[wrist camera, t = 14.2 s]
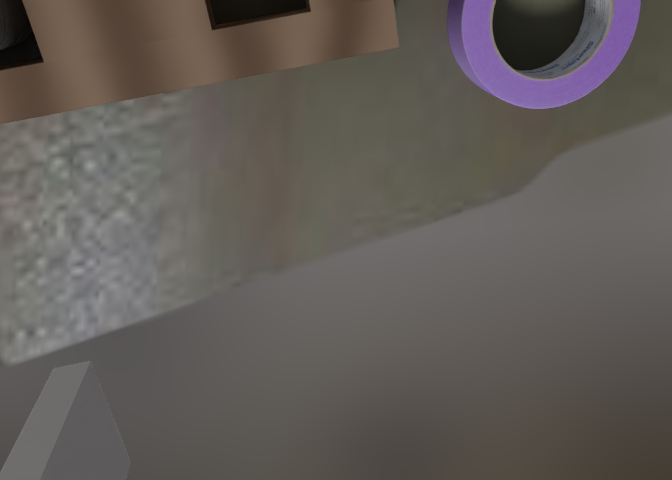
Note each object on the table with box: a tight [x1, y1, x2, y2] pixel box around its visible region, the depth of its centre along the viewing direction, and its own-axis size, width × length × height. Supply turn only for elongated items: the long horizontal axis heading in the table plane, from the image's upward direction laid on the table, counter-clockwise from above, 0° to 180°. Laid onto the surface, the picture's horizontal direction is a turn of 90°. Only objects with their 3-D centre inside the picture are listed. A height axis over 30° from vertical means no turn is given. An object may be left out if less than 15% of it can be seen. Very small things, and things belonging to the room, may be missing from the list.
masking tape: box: [447, 0, 641, 109], centre depth 42 cm, size 12×12×4 cm
